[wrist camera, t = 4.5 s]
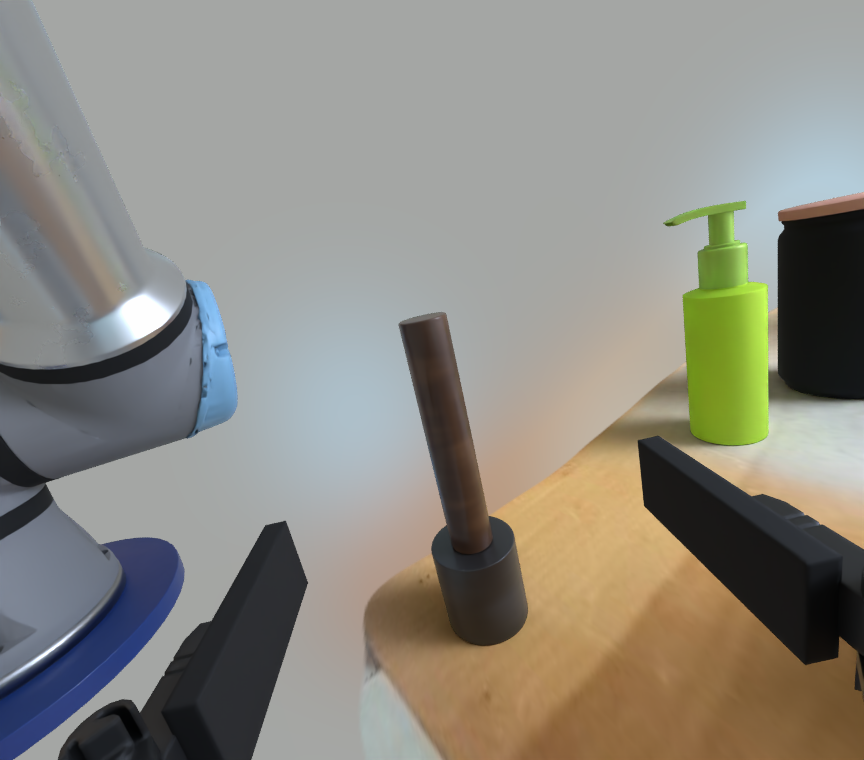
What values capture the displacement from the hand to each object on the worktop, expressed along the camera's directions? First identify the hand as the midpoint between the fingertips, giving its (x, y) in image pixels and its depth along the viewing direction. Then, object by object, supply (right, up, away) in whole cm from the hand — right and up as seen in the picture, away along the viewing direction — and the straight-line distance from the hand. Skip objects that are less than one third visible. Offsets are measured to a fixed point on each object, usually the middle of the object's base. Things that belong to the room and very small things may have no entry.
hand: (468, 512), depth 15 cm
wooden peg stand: (+2, -9, +10) cm, 14 cm away
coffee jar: (+41, +4, +27) cm, 49 cm away
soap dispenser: (+26, 0, +24) cm, 35 cm away
